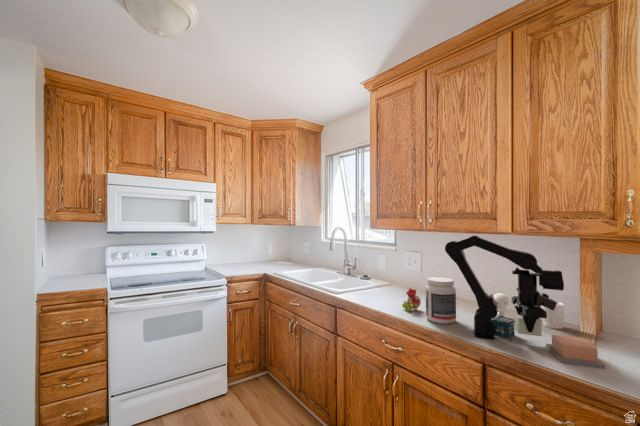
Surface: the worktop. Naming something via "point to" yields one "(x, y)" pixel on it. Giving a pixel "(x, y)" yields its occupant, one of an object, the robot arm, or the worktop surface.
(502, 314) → the light bulb
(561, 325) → the white cup
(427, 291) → the supplement tub
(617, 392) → the worktop surface
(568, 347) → the brick base
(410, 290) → the bird rattle
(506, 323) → the puzzle
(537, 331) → the sage brick
